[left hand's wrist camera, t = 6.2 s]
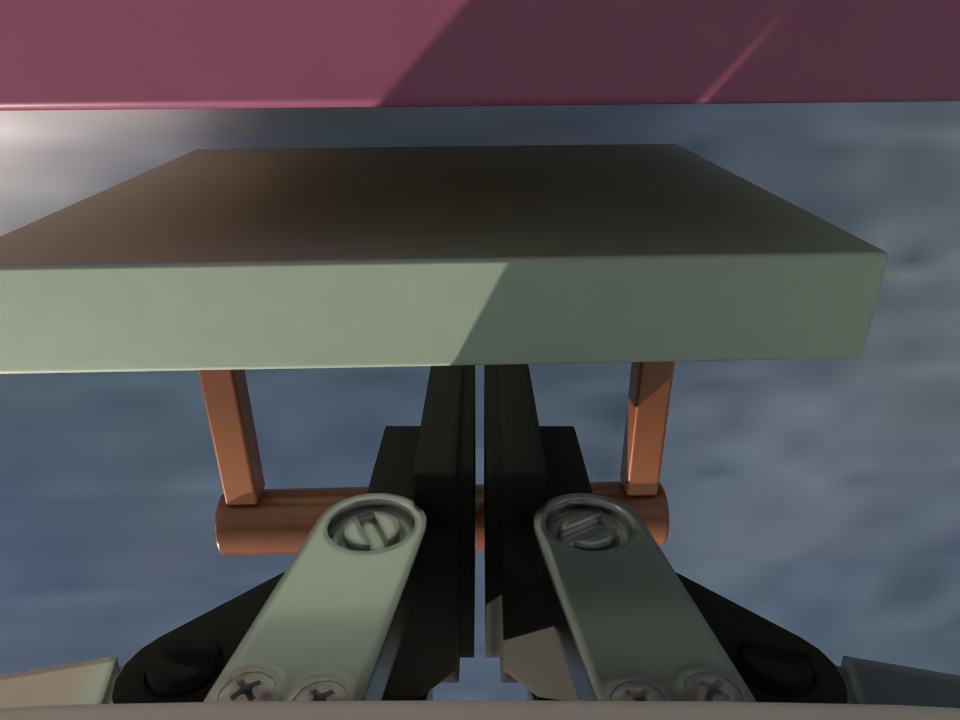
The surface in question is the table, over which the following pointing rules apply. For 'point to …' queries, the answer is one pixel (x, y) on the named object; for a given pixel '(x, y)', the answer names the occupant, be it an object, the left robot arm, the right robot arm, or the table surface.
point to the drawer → (427, 285)
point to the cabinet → (472, 52)
